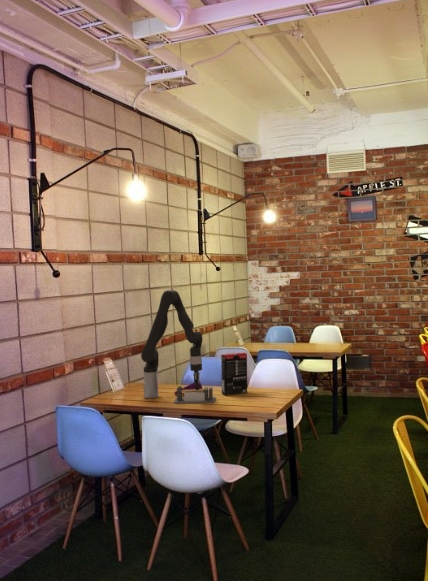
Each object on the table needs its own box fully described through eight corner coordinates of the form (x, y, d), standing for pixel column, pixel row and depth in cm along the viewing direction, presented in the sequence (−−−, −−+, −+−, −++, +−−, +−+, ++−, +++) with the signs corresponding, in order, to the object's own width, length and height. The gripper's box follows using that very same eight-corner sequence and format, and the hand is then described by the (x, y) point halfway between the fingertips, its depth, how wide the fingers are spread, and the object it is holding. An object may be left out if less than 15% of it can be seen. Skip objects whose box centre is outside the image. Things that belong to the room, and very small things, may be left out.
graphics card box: (243, 391, 395) (242, 351, 394) (248, 393, 389) (247, 353, 388) (221, 394, 388) (220, 354, 387) (226, 396, 382) (224, 355, 381)
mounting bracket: (177, 404, 388) (199, 394, 382) (172, 393, 389) (193, 382, 383) (183, 401, 397) (204, 391, 390) (177, 390, 398) (199, 380, 392)
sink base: (173, 403, 365) (173, 389, 364) (176, 399, 378) (176, 385, 377) (214, 403, 363) (214, 388, 363) (215, 398, 376) (215, 384, 376)
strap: (178, 392, 369) (178, 389, 369) (178, 391, 373) (178, 388, 373) (207, 391, 368) (207, 387, 368) (208, 389, 371) (207, 386, 371)
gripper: (191, 361, 376) (192, 387, 377) (189, 364, 363) (190, 391, 363) (202, 361, 376) (203, 387, 376) (200, 364, 362) (202, 391, 363)
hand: (197, 389), depth 370 cm, fingers closed
